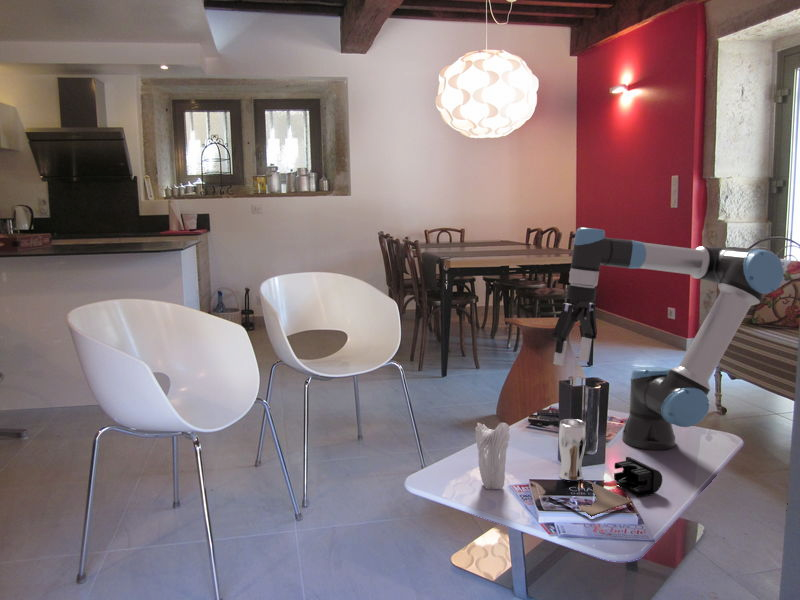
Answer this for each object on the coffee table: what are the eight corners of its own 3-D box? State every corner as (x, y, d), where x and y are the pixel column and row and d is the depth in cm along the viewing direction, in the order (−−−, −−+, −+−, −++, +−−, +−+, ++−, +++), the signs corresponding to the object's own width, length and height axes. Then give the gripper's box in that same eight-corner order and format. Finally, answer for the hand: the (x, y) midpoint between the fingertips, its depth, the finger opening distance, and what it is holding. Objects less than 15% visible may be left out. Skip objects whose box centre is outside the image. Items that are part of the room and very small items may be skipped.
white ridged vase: (473, 481, 176) (474, 414, 173) (504, 480, 176) (505, 414, 174) (478, 494, 168) (479, 425, 165) (511, 493, 168) (512, 424, 166)
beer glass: (565, 483, 174) (567, 428, 172) (552, 473, 181) (554, 419, 179) (589, 480, 176) (591, 425, 174) (575, 470, 183) (577, 417, 180)
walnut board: (588, 485, 173) (588, 480, 173) (632, 505, 161) (632, 500, 161) (548, 497, 166) (548, 492, 166) (591, 519, 154) (591, 514, 154)
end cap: (662, 494, 168) (663, 468, 167) (640, 499, 165) (641, 472, 164) (633, 479, 177) (635, 454, 176) (612, 483, 174) (613, 458, 173)
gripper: (591, 283, 192) (581, 356, 194) (545, 283, 174) (534, 363, 176) (616, 287, 187) (605, 362, 189) (571, 287, 168) (559, 370, 171)
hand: (571, 362), depth 183 cm, fingers open, 13 cm apart
